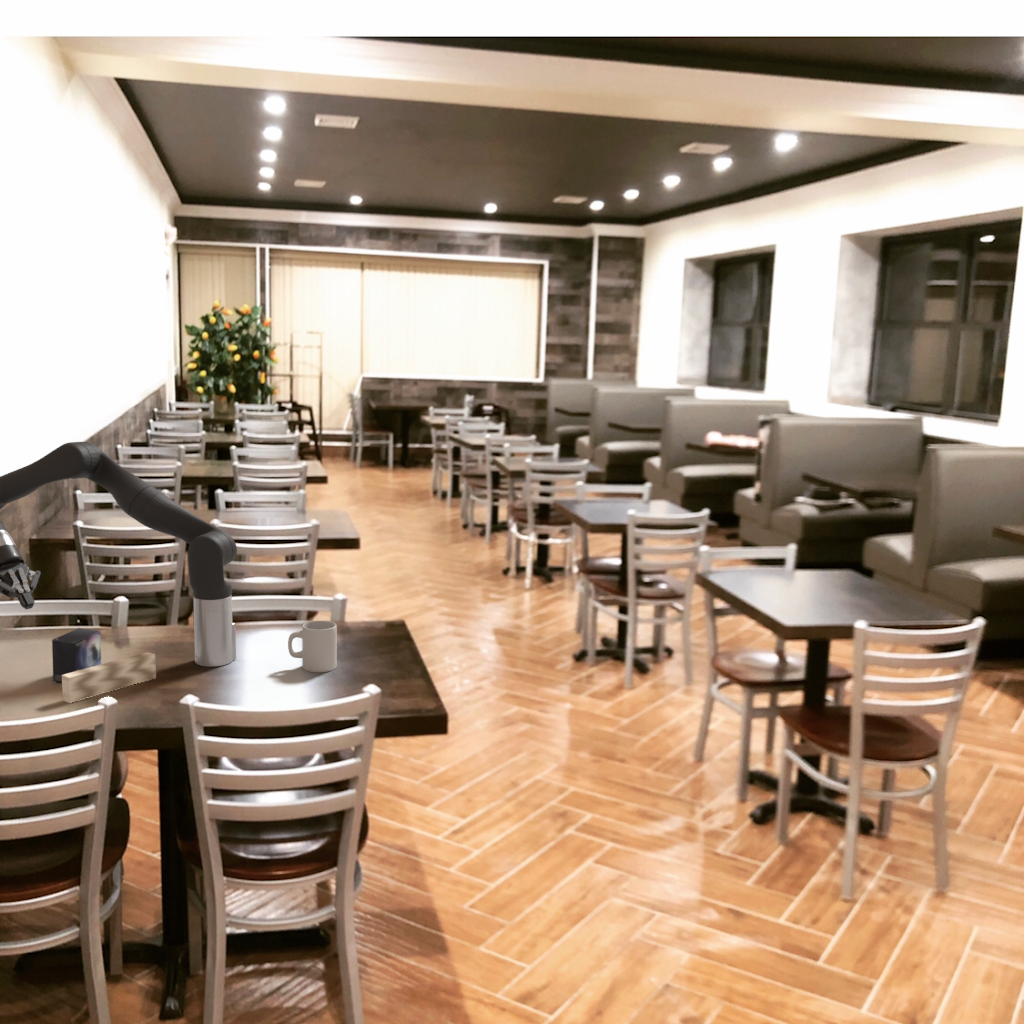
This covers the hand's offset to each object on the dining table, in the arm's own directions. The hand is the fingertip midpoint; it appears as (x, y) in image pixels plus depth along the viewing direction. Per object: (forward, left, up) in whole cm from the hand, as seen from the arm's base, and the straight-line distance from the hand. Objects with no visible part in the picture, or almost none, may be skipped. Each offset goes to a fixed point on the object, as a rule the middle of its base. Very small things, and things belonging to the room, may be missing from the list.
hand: (30, 607), depth 251 cm
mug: (-41, +57, -14) cm, 72 cm away
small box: (0, +20, -14) cm, 25 cm away
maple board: (0, +34, -13) cm, 36 cm away
